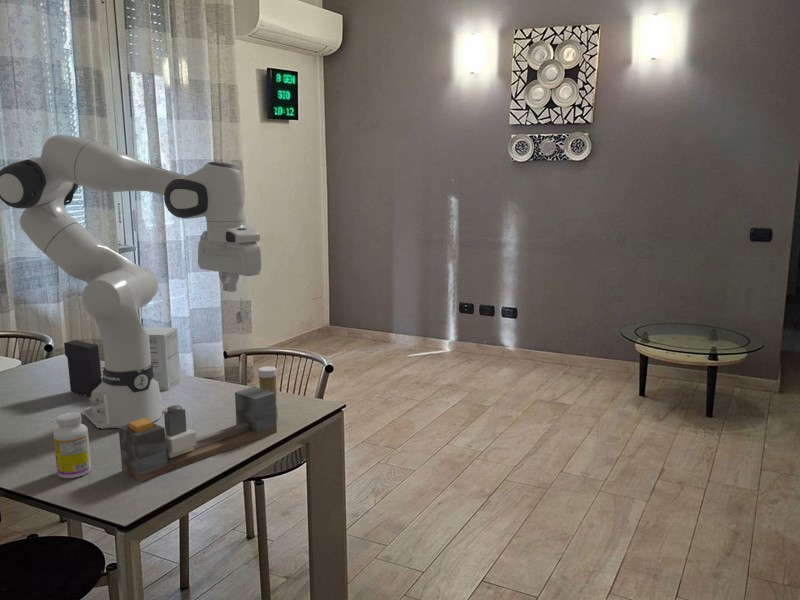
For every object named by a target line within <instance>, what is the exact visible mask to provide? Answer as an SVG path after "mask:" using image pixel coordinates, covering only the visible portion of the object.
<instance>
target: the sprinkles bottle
mask: <svg viewBox="0 0 800 600" xmlns="http://www.w3.org/2000/svg"><path fill="white" fill-rule="evenodd" d="M257 374H258V379H259V380H258V381H259V388H261V389H264V390H267V391H270V392H273V393H275V398H276V420H277V419H278V417H279V415H278V393H277V389H278V388H277V367H275V366H269V365H268V366H262V367H260V368H258V371H257Z"/></svg>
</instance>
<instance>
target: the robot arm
mask: <svg viewBox="0 0 800 600" xmlns="http://www.w3.org/2000/svg"><path fill="white" fill-rule="evenodd" d="M79 186H80V187H83V188H87V189H89V190H94V191H98V192H106V193H107V192H108V193H117V192H118V193H119V192H120V193H121V192H149V193H152V194H153V193H154V194H158V195H161V196H163V201H164V202H163V203H164V204H165V207H166V209H167V210H168V212H169V213H170V214H171V215H173V216H174V217H176V218H179V219H184V220H185V219H186V220H187V219H188V220H189V219H198V218H203V217H205V220H206V221H205V222H206V230H204V231H203V232H202V233H201V235H200V236H199V239H200V240H199V242H198V246H197V264H198V267H199V268H200V270H206V271H212V272H218V277H219V279H220V282H221V284H222V290H223V291H225V292H228V293H235V292H236V291H237V283H238V281H239V279H240V276H245V277H253V276H258V275H259V274H260V273H261V271H262V254H261V247H260V244H259V243H258V242H260V241H261V234H260V232H259V231H257V230H255V229H254V228H252V227H251V226H249V225H248V224H246V216H245V214H244V204H245V190H244V181H243V176H242V173H241V170H240V169H239V168H238V166H236V165H234V164H232V163H226V162H219V161H210V162H206V163H205V165H204V166H203V167H201V168H199V169H198V170H195V171H194V172H192V173H190V174H188V175H185V174H181V173H177V172H175V171H171V170H168V169H165V168H161V167H158V166H155V165H152V164H149V163H147V162H144V161H142V160H140V159H138V158H135V157H133V156H131V155H129V154H127V153H124V152H122V151H120V150H117V149H115V148H113V147H111V146H108V145H105V144H104V143H100V142H98V141H94V140H92V139H88V138H84V137H80V136H73V135H69V134H68V135H67V134H55V135H53V136H51V137H49V138H48V139H47V140H46V141H45V142H44V144H43V147H42V149H41V155H40V156H38V157H31V158H29V159H23V160H20V161H15V162H13V163H10V164H8V165H6V166H5V167H3V168H1V169H0V200H1V202H3V203H4V204H5V205H7V206H8V207H11V208H14V209H24V210H23V212H22V213H21V215H20V218H19V224H20V227H21V229H22V231H23V232H24V233H25V235H26V236H27V237H28V239H30V241H31V242H32V243H33V244H34V245H35V246H36V247H37V248H38V249H39V250H40V252H42V253H43V254H44V255H45V256H46V257H47V258H49V259H50V260H51V261H53V262H54V264H56V265H57V266H58V267H59V268H60V269H61V270H62V271H63V272H64V273H66V274H67V275H68V276H70V277H71V278H74V279H77V280H81V281H82V282H85V283H87V284H86V285H85V287H84V289H83V291H82V294H81V301H82V305H83V308H84V309H85V311H87V313H88V314H89V315H91V317H93V318H94V320H95V323H96V325H97V327H98V330H99V333H100V337H101V342H102V348H103V358H104V359H103V361H104V366H103V367H101V372H102V376H101V378H102V382H101V383H100V384H99V385H98V386H97V387H96V388H95V389H94V390H93V391H92V393H91V398H90V397H88V403H89V406H88V407H86V408H84V409H82V413H83V414H82V415H83V416H84V415H85V416H86V417H87V418H88V419H89V420H90V421H91V422H92V423H93V424H94V425H95V426H96V427H97V428H96V429H98V428H101V430H102V429H113V428H116V429H119V427H120V426H124V425H127V424H129V423H130V422H133V421H137V420H140V419H143V418H145V419H147V420H150V421H152V422H153V423H154V422H155V421H158V420H159V419H160V418H161V417H162V415H163V413H164V412H166V411H167V406H166V405H164V404H162V397H161V390H159V385H158V382H157V381H156V380H154V379H153V377H154V368H153V363H151V355H150V342H149V335H148V333H147V331H145V330H144V329H145V328H144V327H143V325H142V322H141V319H140V317H139V309H140V308H141V307H144V306H147V305H148V304H149V303H150V302H151V301H152V300H153V299H154V297H155V296H156V295H157V294H158V293H157V292H158V290H159V282H158V277H157V276H156V275H155V273H154V272H153V271H152V270H150V269H149V268H148V267H143V266H141V265H139V264H137V263H135V262H133V261H131V260H130V259H128V258H126V257H124V256H123V255H121V254H120V253H118V252H116V251H115V250H113V249H111V248H110V247H109V246H107V245H105V244H104V243H102V242H101V241H100V240H99V239H98V238H96V236H94V235H93V234H92V233H91V232H90V231H89V230H87V229H86V228H85V227H84V226H83V225H82V224H81V223H79V221H77V220H76V219H75V218H73V217H72V216H71V215H70V214H69V213H68V211H67V210H66V209H65V208H66V207H65V206H68V205H70V204H71V203H72V201H73V199H74V195H75V194H76V191H77V190H78V188H79ZM102 369H103V370H102ZM85 416H84V417H85ZM86 417H85V418H86ZM87 418H86V419H87ZM88 419H87V420H88ZM89 420H88V421H89ZM90 421H89V422H90ZM91 422H90V423H91ZM92 423H91V424H92ZM93 424H92V425H93ZM94 425H93V426H94ZM95 426H94V427H95Z"/></svg>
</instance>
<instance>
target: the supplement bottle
mask: <svg viewBox="0 0 800 600" xmlns="http://www.w3.org/2000/svg"><path fill="white" fill-rule="evenodd" d="M56 424H57V425H58V427H57V428H55V430H54V431H53V433H52V434H53V445H54V454H55V462H56V463H55V464H56V471H57V475H58V476H59V478H62V479H76V477H77V478H80V476H81V477H83V476H86V475H88V474H89V472H91V470H92V459H91V450H90V439H89V430H88V427H87V426H86V424H83V423H82V414H81V413H80V412H76V411H75V412H66V413H63V414H59V415H57V417H56Z"/></svg>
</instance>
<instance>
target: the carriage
mask: <svg viewBox="0 0 800 600" xmlns="http://www.w3.org/2000/svg"><path fill="white" fill-rule="evenodd" d="M186 418H187V417H186V409H184V408H182V406H181V405H170V406H168V407H166V411H164V412H163V419H164V428H165V442H166V450H167V451H168V457H169V458H172V457H175V456H178V455H181V454H184V453H186V452H189V451H192V450H194V445H196V439H197V432H196V431H194V430H192V429H189V428H188V427H187V419H186Z"/></svg>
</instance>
